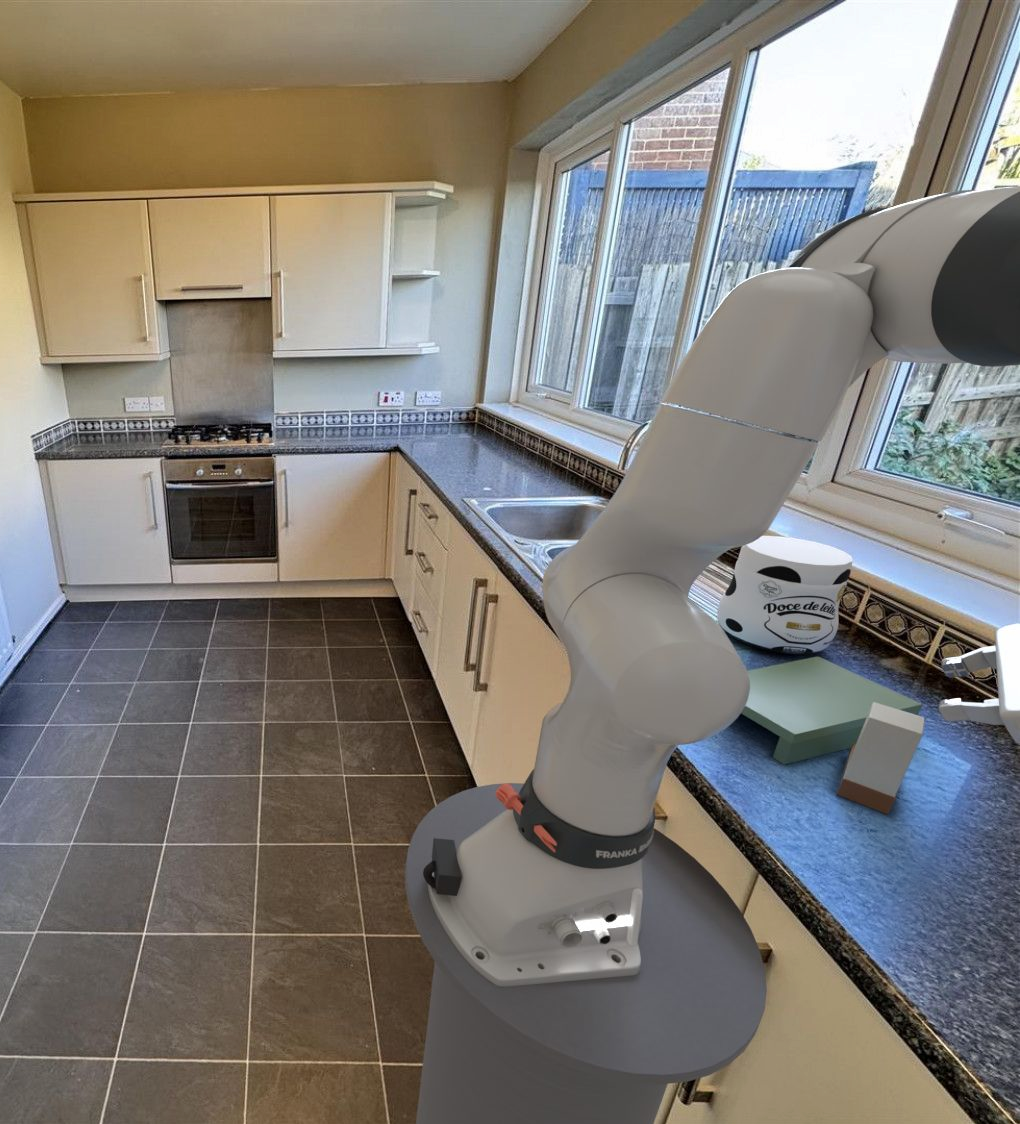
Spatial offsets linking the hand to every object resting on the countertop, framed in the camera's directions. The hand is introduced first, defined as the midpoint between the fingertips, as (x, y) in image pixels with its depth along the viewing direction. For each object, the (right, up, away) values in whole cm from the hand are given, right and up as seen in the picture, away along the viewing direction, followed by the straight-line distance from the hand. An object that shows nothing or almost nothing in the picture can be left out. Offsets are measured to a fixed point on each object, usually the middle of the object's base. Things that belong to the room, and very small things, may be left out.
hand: (942, 689), depth 68 cm
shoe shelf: (+5, -10, +24) cm, 26 cm away
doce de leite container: (+19, -1, +47) cm, 51 cm away
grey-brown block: (+2, -15, +11) cm, 19 cm away
